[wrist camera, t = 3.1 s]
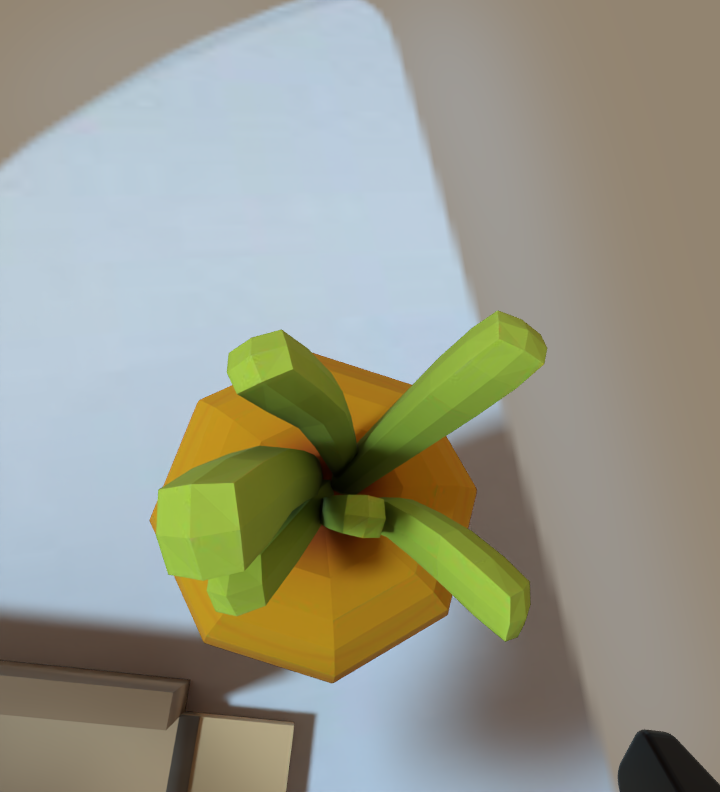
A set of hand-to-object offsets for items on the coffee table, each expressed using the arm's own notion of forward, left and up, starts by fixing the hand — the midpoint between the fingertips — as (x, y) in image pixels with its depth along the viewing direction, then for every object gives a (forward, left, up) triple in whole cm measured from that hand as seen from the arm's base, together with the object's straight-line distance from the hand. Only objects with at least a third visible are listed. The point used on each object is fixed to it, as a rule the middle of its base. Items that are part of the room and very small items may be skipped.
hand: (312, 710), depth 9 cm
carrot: (+3, 0, -11) cm, 11 cm away
